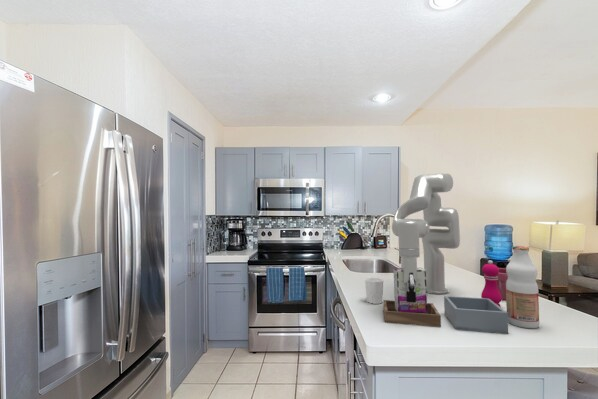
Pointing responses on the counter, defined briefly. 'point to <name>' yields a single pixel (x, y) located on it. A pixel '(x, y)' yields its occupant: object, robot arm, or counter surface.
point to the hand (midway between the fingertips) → (410, 298)
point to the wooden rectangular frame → (411, 315)
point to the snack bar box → (401, 292)
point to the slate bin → (475, 314)
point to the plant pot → (502, 282)
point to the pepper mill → (491, 283)
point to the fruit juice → (522, 290)
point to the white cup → (374, 290)
